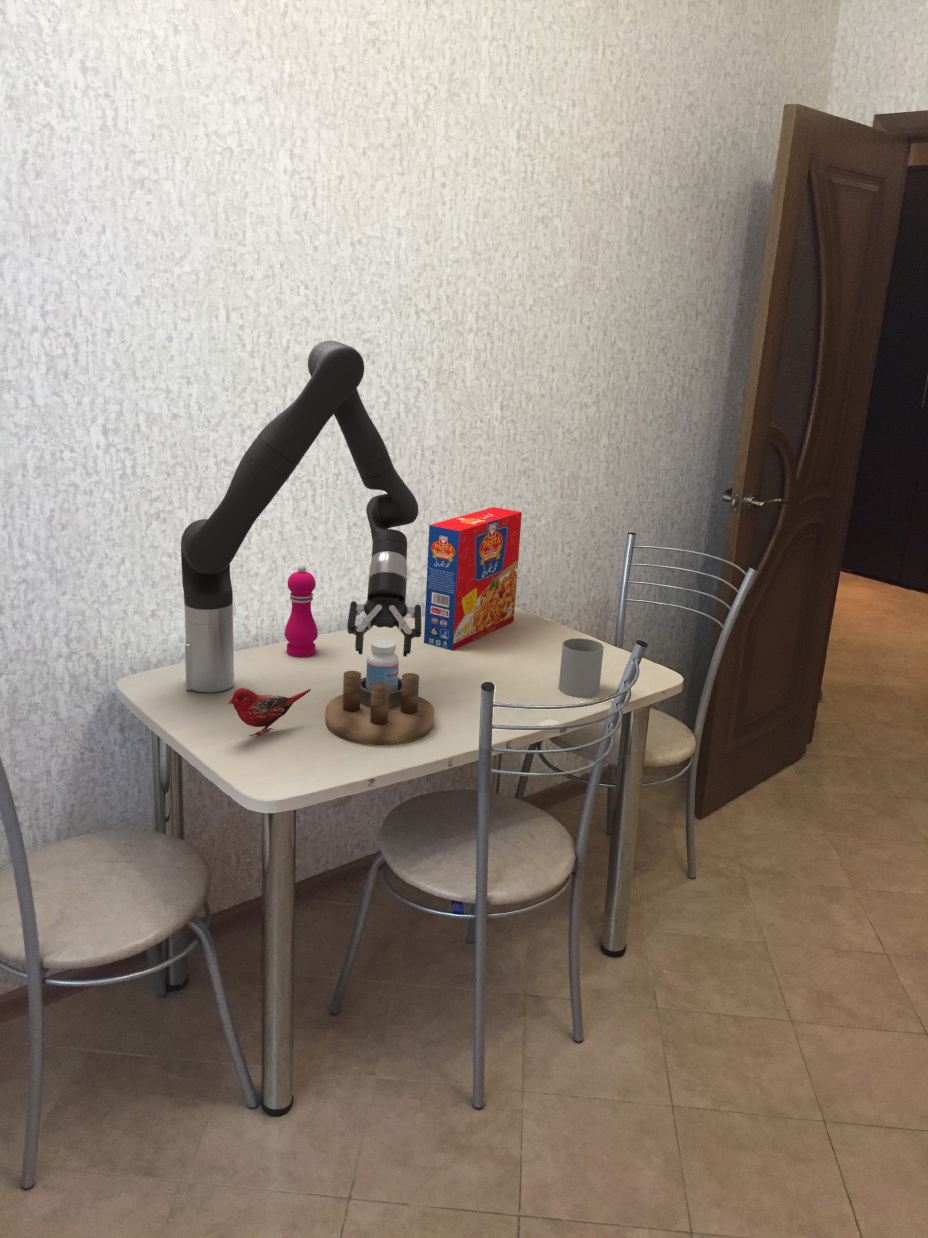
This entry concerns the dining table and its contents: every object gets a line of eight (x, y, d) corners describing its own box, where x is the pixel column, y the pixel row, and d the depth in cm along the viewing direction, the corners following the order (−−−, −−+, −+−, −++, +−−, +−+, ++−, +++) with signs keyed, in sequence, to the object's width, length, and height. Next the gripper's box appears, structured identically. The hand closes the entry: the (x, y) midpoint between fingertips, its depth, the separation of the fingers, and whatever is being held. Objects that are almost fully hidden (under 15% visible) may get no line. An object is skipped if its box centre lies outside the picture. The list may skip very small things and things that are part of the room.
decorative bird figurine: (224, 741, 180) (223, 689, 177) (306, 717, 192) (306, 667, 189) (233, 747, 178) (232, 694, 175) (315, 722, 190) (316, 672, 187)
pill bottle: (392, 706, 193) (395, 650, 190) (361, 701, 194) (363, 646, 191) (400, 694, 199) (403, 640, 195) (370, 690, 200) (372, 636, 196)
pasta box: (452, 650, 232) (459, 531, 223) (423, 643, 236) (429, 524, 227) (513, 621, 255) (521, 512, 246) (486, 615, 259) (493, 506, 250)
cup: (576, 679, 219) (580, 635, 216) (606, 691, 213) (611, 646, 210) (550, 688, 213) (554, 643, 210) (581, 700, 208) (585, 654, 204)
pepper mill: (324, 651, 227) (325, 564, 220) (302, 660, 221) (303, 571, 214) (299, 644, 230) (300, 558, 224) (277, 652, 224) (277, 564, 218)
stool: (330, 747, 180) (330, 697, 177) (321, 702, 199) (322, 657, 196) (443, 743, 185) (445, 694, 182) (424, 699, 204) (426, 654, 201)
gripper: (350, 568, 198) (344, 643, 191) (424, 572, 199) (420, 647, 192) (352, 587, 205) (346, 660, 198) (423, 590, 206) (419, 663, 198)
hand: (382, 653), depth 195 cm, fingers open, 8 cm apart
